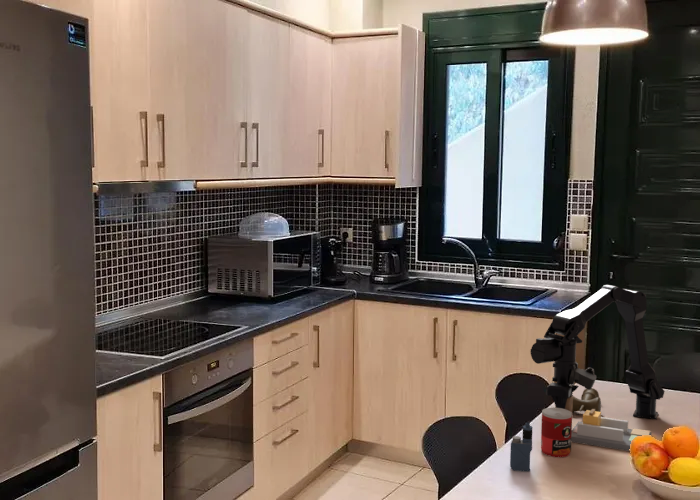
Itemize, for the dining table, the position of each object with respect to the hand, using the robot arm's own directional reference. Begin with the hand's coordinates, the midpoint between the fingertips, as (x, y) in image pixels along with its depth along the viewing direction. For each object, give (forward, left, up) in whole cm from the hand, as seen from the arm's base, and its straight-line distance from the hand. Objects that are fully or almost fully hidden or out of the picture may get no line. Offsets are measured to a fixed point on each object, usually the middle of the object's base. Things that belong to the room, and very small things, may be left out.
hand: (563, 413), depth 227 cm
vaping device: (+33, -3, -6) cm, 34 cm away
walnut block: (0, 0, -2) cm, 2 cm away
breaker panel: (0, +13, -6) cm, 14 cm away
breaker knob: (0, +8, -4) cm, 9 cm away
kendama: (-23, +2, -6) cm, 24 cm away
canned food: (+17, +2, -6) cm, 18 cm away
